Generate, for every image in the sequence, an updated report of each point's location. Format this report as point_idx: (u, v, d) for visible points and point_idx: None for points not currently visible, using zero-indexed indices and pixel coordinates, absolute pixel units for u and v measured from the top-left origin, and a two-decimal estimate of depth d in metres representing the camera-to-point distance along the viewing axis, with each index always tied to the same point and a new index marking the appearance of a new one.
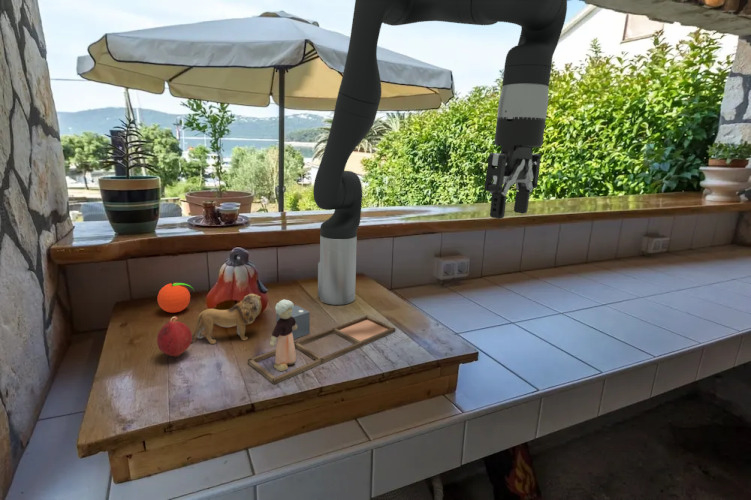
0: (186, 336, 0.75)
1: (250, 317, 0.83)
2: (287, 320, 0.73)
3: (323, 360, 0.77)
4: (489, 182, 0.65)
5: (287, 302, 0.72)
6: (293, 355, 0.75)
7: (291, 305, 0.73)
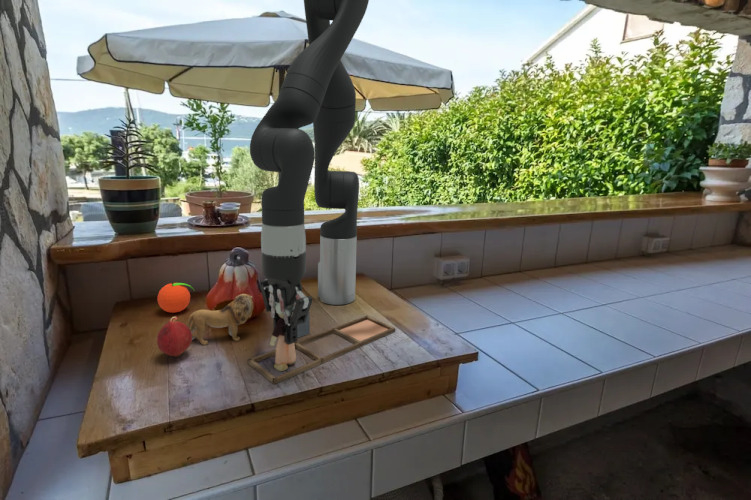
0: (186, 336, 0.75)
1: (242, 317, 0.83)
2: None
3: (323, 360, 0.77)
4: None
5: None
6: (293, 355, 0.75)
7: (291, 305, 0.73)
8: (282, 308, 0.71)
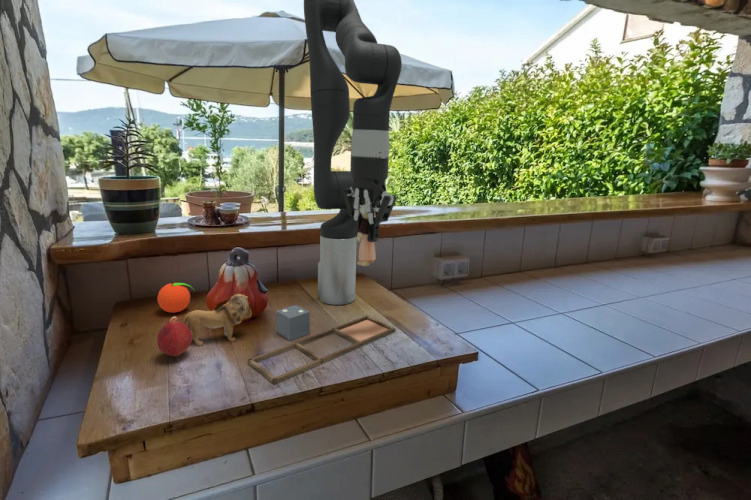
0: (186, 336, 0.75)
1: (237, 317, 0.83)
2: None
3: (323, 360, 0.77)
4: None
5: None
6: (374, 254, 0.85)
7: (374, 207, 0.83)
8: (368, 207, 0.81)
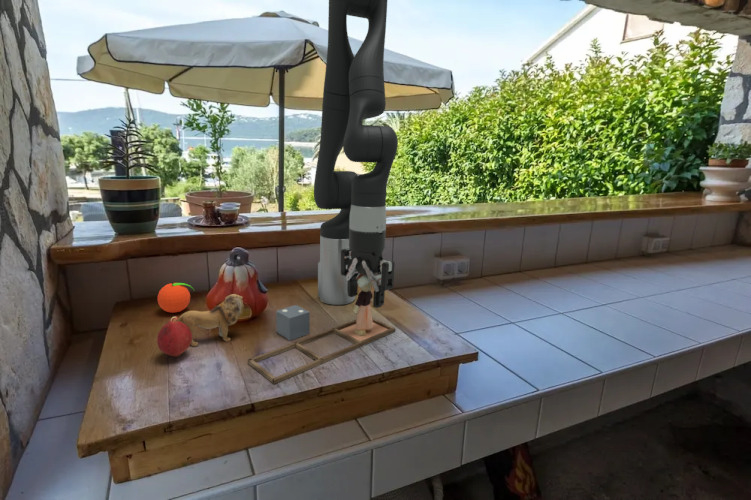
0: (186, 336, 0.75)
1: (232, 317, 0.83)
2: (367, 292, 0.87)
3: (323, 360, 0.77)
4: None
5: None
6: (371, 323, 0.89)
7: None
8: (370, 276, 0.83)
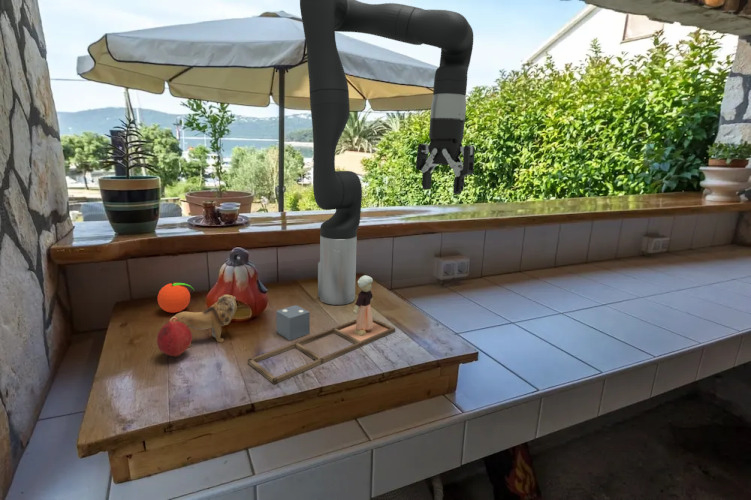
0: (186, 336, 0.75)
1: (226, 318, 0.82)
2: (367, 292, 0.87)
3: (323, 360, 0.77)
4: None
5: (368, 277, 0.86)
6: (371, 323, 0.89)
7: (371, 280, 0.87)
8: (451, 162, 0.89)
